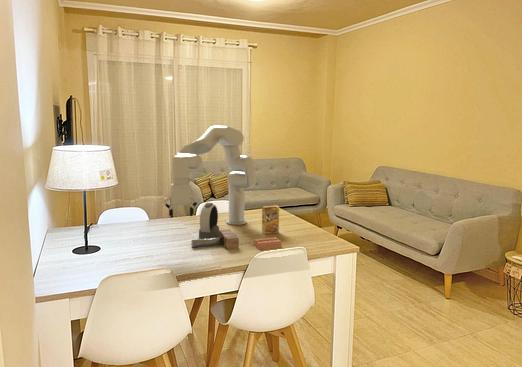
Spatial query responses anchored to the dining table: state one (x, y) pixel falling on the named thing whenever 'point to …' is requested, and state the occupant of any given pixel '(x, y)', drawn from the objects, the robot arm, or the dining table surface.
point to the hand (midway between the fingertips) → (181, 216)
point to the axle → (207, 242)
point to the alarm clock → (209, 222)
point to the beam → (229, 239)
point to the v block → (267, 243)
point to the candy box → (270, 219)
